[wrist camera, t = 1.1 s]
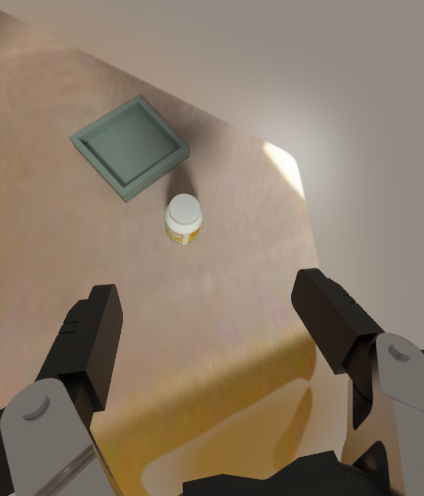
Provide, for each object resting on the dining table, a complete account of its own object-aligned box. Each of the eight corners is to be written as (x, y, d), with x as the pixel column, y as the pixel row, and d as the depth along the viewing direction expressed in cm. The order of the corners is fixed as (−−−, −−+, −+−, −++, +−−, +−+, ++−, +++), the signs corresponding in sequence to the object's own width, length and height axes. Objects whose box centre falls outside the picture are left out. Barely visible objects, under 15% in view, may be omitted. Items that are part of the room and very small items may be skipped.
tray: (126, 203, 38) (122, 196, 35) (75, 147, 38) (68, 137, 36) (188, 156, 41) (189, 147, 39) (141, 106, 42) (139, 94, 40)
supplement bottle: (168, 247, 37) (165, 230, 28) (164, 216, 38) (160, 190, 29) (200, 243, 38) (208, 225, 29) (196, 213, 39) (202, 186, 30)
